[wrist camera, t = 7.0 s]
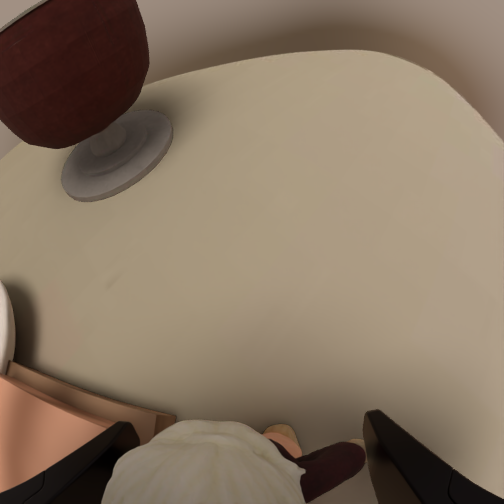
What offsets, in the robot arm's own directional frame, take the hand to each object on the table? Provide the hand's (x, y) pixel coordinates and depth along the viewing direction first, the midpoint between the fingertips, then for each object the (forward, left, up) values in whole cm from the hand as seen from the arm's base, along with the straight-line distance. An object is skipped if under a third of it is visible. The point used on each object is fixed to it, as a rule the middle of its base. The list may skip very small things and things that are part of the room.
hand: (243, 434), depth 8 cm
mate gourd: (+16, -21, -7) cm, 27 cm away
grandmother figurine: (0, +1, -7) cm, 7 cm away
